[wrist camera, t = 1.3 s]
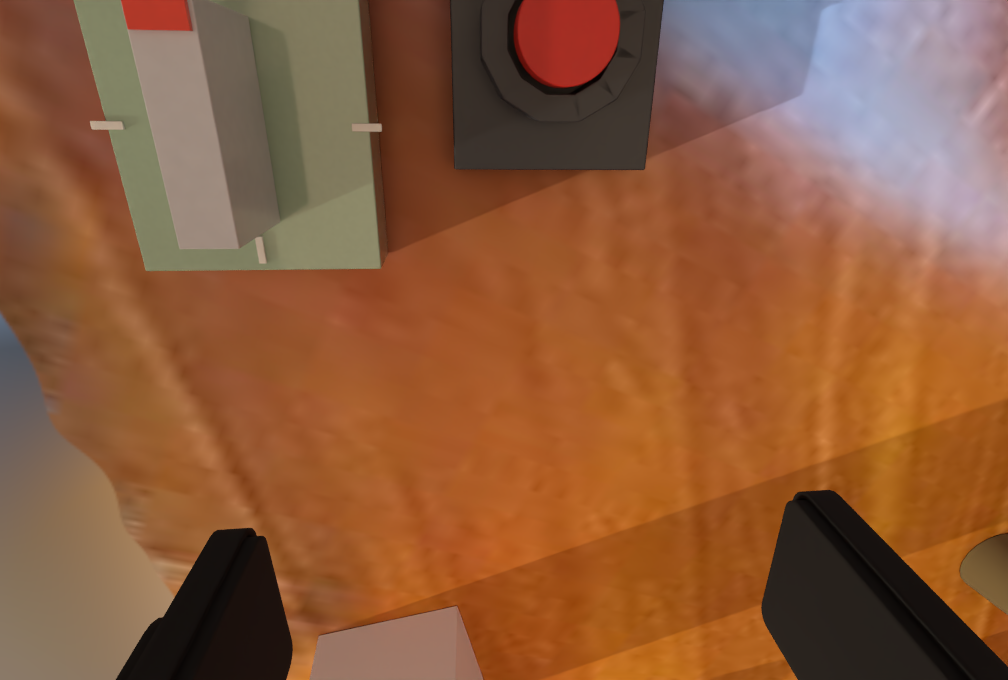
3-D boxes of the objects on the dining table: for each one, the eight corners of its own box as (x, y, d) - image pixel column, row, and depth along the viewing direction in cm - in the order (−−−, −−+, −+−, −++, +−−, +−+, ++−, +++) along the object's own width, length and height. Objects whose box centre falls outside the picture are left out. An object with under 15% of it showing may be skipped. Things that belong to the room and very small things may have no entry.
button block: (448, -108, 25) (445, -146, 21) (660, -100, 25) (693, -134, 22) (454, 165, 29) (454, 173, 26) (632, 165, 30) (656, 174, 26)
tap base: (398, 254, 31) (392, 269, 28) (163, 256, 30) (131, 272, 27) (378, -32, 26) (368, -50, 23) (88, -41, 25) (38, -61, 22)
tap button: (514, -26, 23) (518, -36, 21) (614, -23, 23) (625, -32, 22) (512, 87, 25) (516, 86, 23) (605, 88, 25) (615, 87, 23)
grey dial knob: (280, 222, 27) (237, 250, 22) (231, 222, 27) (176, 251, 22) (248, 16, 23) (187, -10, 18) (191, 14, 23) (113, -12, 18)
